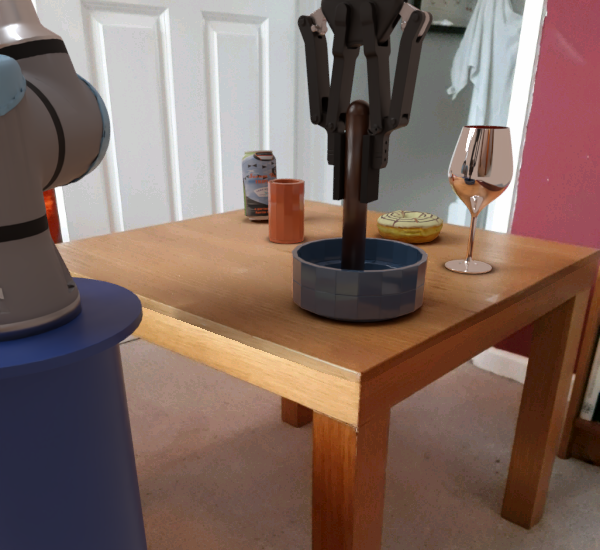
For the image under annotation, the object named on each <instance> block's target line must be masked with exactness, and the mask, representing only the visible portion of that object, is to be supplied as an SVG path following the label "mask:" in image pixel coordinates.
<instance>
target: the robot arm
mask: <svg viewBox="0 0 600 550" xmlns="http://www.w3.org/2000/svg"><path fill="white" fill-rule="evenodd" d="M400 20H401V23H400V29H401V32H402V34H401V37H400V40H399V45H398V52H397V56H396V57H397V58H396V65H395V71H394V77H393V84H392V91H391V73H390V72H391V71H390V56H391V52H392V48H391V47H392V44H391V43H392V42H391V35H392V33H393V31H394V30H395V28H396V27H397V25H398V23H399V22H400ZM433 20H434V18H433V13H431V12H430V11H426V10H420V9H419V8H418V7H416V6H414V5H412V4H411V3H409V0H321V1H320V6H319V8H317V9H316V10H314V11H312V12H311V13H310V14H309V15H306V14H301V15H300V16H299V17H298V19H297V26H298V29H299V32H300V36H301V38H302V40H303V43H304V55H305V68H306V80H307V92H308V93H307V95H308V106H309V107H308V109H309V119H310V122H311V124H313V125H314V126H316V125H317V126H319V127H321V128H323V129H324V130H325V131H326V134H327V139H326V141H327V142H326V144H327V145H326V161H327V165H328V166H333V169H332V170H333V171H332V172H333V173H332V201H343V195H344V164H345V133H346V111H347V108H348V106H349V105H350V103H351V99H352V91H353V86H354V85H353V84H354V78H355V71H356V63H357V59H358V57H359V55H360V52H361V47H362V48H363V49H362V50H363V55H364V57H365V60H366V75H367V88H368V89H367V92H368V93H367V94H368V103H369V111H370V128H371V129H367V131H368V133H369V134H368V135H363V148H362V170H361V193H360V203H365V204H367V203H368V204H369V203H373V202H376V201H378V200H379V191H380V174H381V172H380V171H381V169H386V168H387V165H388V163H389V151H390V150H389V149H390V137H391V134H392V133H393V132H394V131H396V130H398V129H401V128H405V127H407V126H408V125H409V123H410V119H411V113H412V106H413V101H414V96H415V90H416V83H417V77H418V73H419V67H420V60H421V55H422V47H423V42H424V40H425V38H426V36H427V34H428V32H429V29H430V28H431V25H432V23H433ZM327 25H328V27H329V28H330V30H331V32H332V34H333V38H332V39H333V41H332V46H331V54H332V57H333V59H332V60H333V61H332V68H331V77H330V66H329V65H330V64H329V50H328V49H329V48H328V41H327V36H326V33H328V31H329V28H328V27H327ZM110 119H111V118H110V114H109V112H108V108H107V105H106V103H105V102H104V99H103V97H102V96H101V94H100V92H99V91H98V90H97V89H96V87H95V86H94V85H92V83H91V82H89V81H88V80H87V79H85V78H84V77H83V76H81V75H80V74H78V73H77V71H76V69H75V66H74V64H73V61H72V58H71V56H70V53H69V51H68V49H67V46H66V44H65V42H64V39H63V38H62V36H61V35H59V34H57V33H56V32H53V31H52V30H51V29H49V28H47V27H45V26H44V25H43V24H42V23H41V21H40V17H39V16H38V13H37V10H36V8H35V6H34V3H33V1H32V0H0V342H2V341H9V340H15V339H20V338H25V337H30V336H34V335H38V334H41V333H44V332H48V331H50V330H53V329H56V328H58V327H60V326H63V325H65V324H67V323H68V322H70V321H72V320H73V319H74V318H75V317H77V316H78V315H79V313H80V312H81V309H82V306H81V300H80V294H79V290H78V288H77V285H76V283H75V282H74V280H73V278H72V277H73V276H72V274H71V272H70V270H69V268H68V266H67V264H66V262H65V261H64V259H63V257H62V255H61V253H60V251H59V249H58V247H57V245H56V243H55V240H54V239H53V237H52V235H51V231H50V225H49V220H48V214H47V208H46V202H45V196H44V193H45V192H47V191H50V190H53V189H56V188H59V187H66V186H68V185H71V184H74V183H78V182H79V181H81V180H83V178H85V177H86V176H87V175H89V174H91V173H92V172H93V171H94V170H96V169H97V168H98V166H100V164H101V163H102V161H103V160H104V158H105V156H106V154H107V151H108V149H109V146H110V140H111V120H110Z"/></svg>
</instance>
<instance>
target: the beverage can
mask: <svg viewBox="0 0 600 550" xmlns="http://www.w3.org/2000/svg"><path fill="white" fill-rule="evenodd" d="M241 170H242V171H241V172H242V173H241V174H242V190H243V207H244V208H243V209H244V216H245V217H246V218H248V220H250V221H261V220H262V221H263V220H269V216H268V181H269V180H273V179H278V177H277V176H278V175H277V174H278V172H277V158H276V156H275V155H274V153H273V150H272V149H271V150H269V149H267V150H266V149H263V150H262V149H261V150H246V151H244V154H243V156H242V158H241Z"/></svg>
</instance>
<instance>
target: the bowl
mask: <svg viewBox="0 0 600 550" xmlns="http://www.w3.org/2000/svg"><path fill="white" fill-rule="evenodd" d="M341 256H342V236H339V237H338V236H337V237H328V238H320V239H315V240H309V241H306V242H304V243H300V244H298V245H296V246H295V247H294V248H293V249H292V250H291V298H292V302H293V303H294V304H296V305H297V306H298V307H300V309H302V310H305V311H308V312H310V313H313V314H314V315H317V316H319V317H322V318H327V319H330V320H336V321H342V322H353V323H368V322H369V323H373V322H382V321H388V320H393V319H396V318H399V317H402V316H405V315H408V314H411V313H414V312H415V311H417V310H418V309H420V308H421V307H422V306H423V304H424V299H425V290H426V289H425V288H426V280H427V271H428V270H427V269H428V260H429V254H428V253H427V252H426V251H425V250H424V249H423V248H421V247H419V246H417V245H415V244H412V243H404V242H400V241H395V240H389V239H385V238H382V237H381V238H380V237H367V236H366V247H365V267H364V270H346V269H341Z"/></svg>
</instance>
